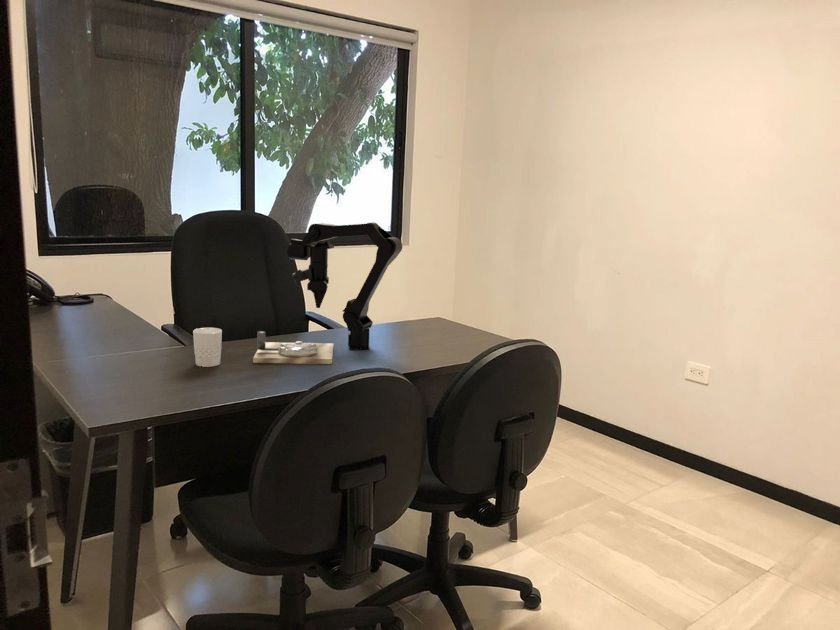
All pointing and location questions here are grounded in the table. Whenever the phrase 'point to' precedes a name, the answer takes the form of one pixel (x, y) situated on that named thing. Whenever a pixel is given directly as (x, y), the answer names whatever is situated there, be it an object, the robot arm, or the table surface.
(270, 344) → the base plate
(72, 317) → the table surface
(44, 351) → the table surface
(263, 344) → the grey metal part
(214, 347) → the white cup
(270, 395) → the table surface
